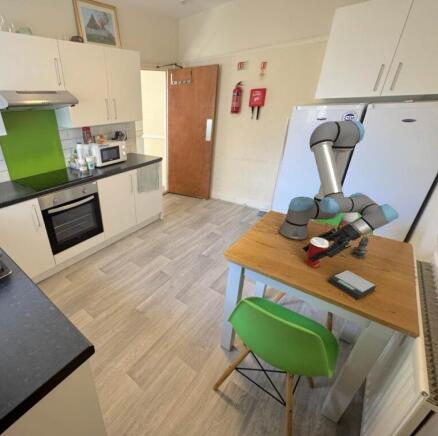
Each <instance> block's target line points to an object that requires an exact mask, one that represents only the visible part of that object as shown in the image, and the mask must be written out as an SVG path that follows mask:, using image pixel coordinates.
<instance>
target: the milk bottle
mask: <svg viewBox="0 0 438 436" xmlns="http://www.w3.org/2000/svg"><path fill="white" fill-rule="evenodd" d="M358 218H359V213H342V215H341V217H340V221H339V222H338V225H337V228H336V230H337V231H339V230H341V227H343V226H345V225H347V224H351V222H352V221H354V220H356V219H358Z"/></svg>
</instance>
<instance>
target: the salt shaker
mask: <svg viewBox="0 0 438 436" xmlns="http://www.w3.org/2000/svg"><path fill="white" fill-rule="evenodd" d="M369 241H370V239H369V237H368V236H367V235H365V236H362V237H361V239H360V241H359V242H358V245H357V246H353V252H351V255H352V256H353V257H355V258H357V259H364V258H365V255H366V254H368V250H367V249H366V248H367V246H369V245H368V243H369Z"/></svg>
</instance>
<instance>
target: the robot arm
mask: <svg viewBox="0 0 438 436" xmlns="http://www.w3.org/2000/svg"><path fill="white" fill-rule="evenodd" d="M365 130H366V129H365V127H364V125H363V123H362V122H360V121H358V120H335V121H334V120H332V121H331V120H330V121H326V122H325V121H324V122H322V123H321V124H319V125H318V126H316V127H315V129H314V130H313V131H312V133H311V134H310V137H309V142H308V143H309V150H310V152H311V153H313V157H314V161H315V164H316V165H315V166H316V169H317V172H318V173H317V174H318V177H319V181H320V185H319V189H318V193H316V194H315V195H314V196H313V198H312V197H309V196H306V197H305V196H296V197H293V198H292V199H291V200H290V202H289V204H288V208H287V212H286V217H285V220H284V221H283V223H282V224H281V225H280V227H279V229H278V233H279V234H280V235H281V236H282V237H284V238H286V239H288V240H292V241H305V240H307V239H308V236H309V232H308V223H309V221H315V220H317V221H318V220H322V221H323V220H325V221H326V220H333V219H336V218H338V217H339V216H340V214H344V213H358V215H360V217H358V219H356V220H354V221H352V222H351V224H347V225H345V226H343V227H341V230H339V231H337V228H335V227H333V228H331V229H330V230H328V231H326V232H323V233H321V234H319V235H316V236H315V237H319V238H323V239H325V240H327V241H328V243H329V242H332V243H331V244H330V245H329V246H328V247H327V249H326V250H325V251H321V252H319V253H317V254H315V255H313V256H311V257H309V259H310V260H311V261H312V262H314V261H316V260H318V259H321V260H322V259H323V258H324V259H325V258H326V257H328V258H330V259H332V258H334V257H335V256H337V255H338V254H340V253H342V252H343V251H345V250H346V249H348V248H351V247H352V245H351V243H350V241H356V240H358V239H360V238H362V237H365V236H367V235H368V234H369V233H372V232H374V231H375V230H377V229H380V228H382V227H383V226H386V225H388V224H390V223H392V222H393V221H395V220H397V219H398V218H399V217H400V214H399V213H398V211H397V210H396V209H395V208H394V207H393V206H392V205H390V204H388V203H384V204H381V205H380V204H378V203H377V202H375V201H374V200H373V199H372V198H370V197H369V196H368V195H366V194H365V193H363V192H355V193H352V194H350V195H349V196H345V194H344V190H343V186H342V183H341V182H342V178H343V176H344V175H343V174H344V172H345V167H346V164H347V161H348V157H349V153H350V152H351V151H353V150H354V149H355V146H356V145H358V144H359V143H361V141H363V139H364V137H365V133H366V131H365ZM309 246H310V243H308V244H307V245H305V246H303V247H302V250H303V251H304V252H305V253H308V250H309Z"/></svg>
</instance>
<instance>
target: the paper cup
mask: <svg viewBox="0 0 438 436" xmlns="http://www.w3.org/2000/svg"><path fill="white" fill-rule="evenodd" d="M309 244H310V246H309V250H308V251H307V255H306V259H305V264H306V265H307V266H309V267H311V268H318V267H319V265H320V263H321V261H322V259H318V260H316V261H314V262H312V261H311V260H310V259H309V257H311V256H313V255H315V254H317V253H319V252H321V251H325V250H326V249H327V248H328V247H329V246H330V244H329V242H328V241H327V240H325V239H323V238H319V237H316V236H314V237H312V238H311V239H310V240H309Z"/></svg>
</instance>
